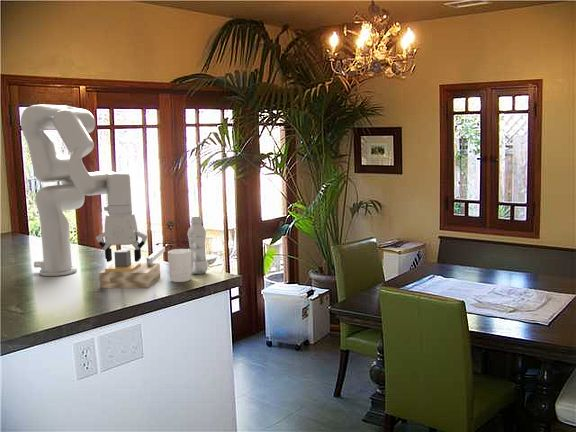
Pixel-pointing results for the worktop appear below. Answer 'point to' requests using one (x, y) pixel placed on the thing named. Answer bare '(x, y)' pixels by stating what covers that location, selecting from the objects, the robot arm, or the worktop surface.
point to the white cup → (180, 265)
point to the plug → (122, 262)
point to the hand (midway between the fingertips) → (123, 261)
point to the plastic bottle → (197, 246)
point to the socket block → (131, 277)
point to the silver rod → (155, 256)
